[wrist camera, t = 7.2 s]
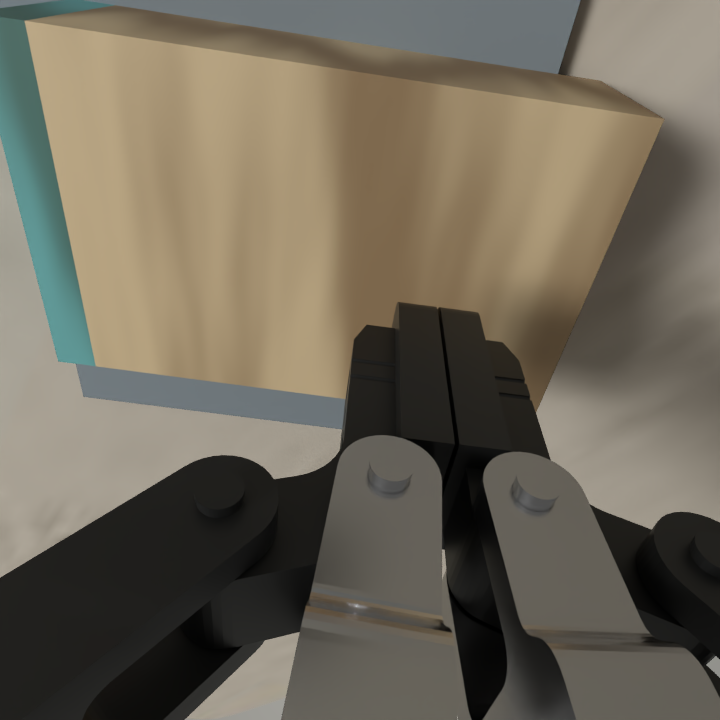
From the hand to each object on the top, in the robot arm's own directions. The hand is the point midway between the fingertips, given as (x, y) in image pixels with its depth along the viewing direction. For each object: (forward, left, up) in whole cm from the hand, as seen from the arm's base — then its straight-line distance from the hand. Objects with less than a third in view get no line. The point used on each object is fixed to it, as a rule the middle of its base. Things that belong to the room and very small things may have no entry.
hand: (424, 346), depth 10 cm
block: (-4, 0, -5) cm, 6 cm away
